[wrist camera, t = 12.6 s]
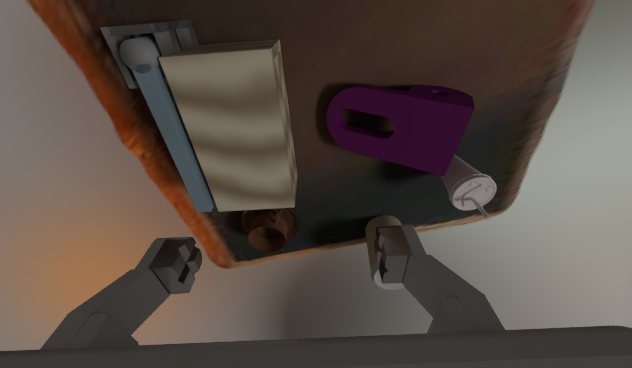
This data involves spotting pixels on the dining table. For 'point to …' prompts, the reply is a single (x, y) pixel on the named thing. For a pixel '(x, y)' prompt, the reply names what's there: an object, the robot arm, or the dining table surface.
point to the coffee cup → (370, 237)
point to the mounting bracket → (404, 124)
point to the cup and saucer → (269, 228)
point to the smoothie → (468, 186)
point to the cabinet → (226, 111)
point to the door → (167, 115)
